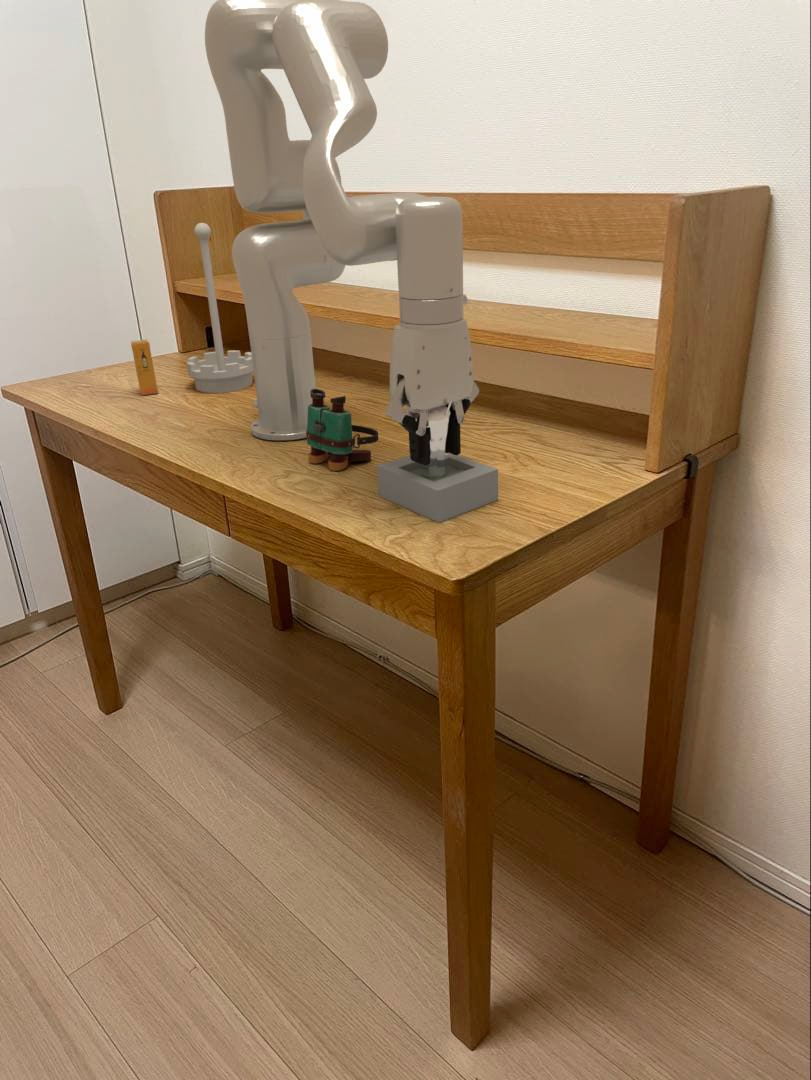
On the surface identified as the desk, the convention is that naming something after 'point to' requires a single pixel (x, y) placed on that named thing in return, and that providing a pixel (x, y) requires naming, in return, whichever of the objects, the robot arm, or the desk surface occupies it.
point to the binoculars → (335, 433)
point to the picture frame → (438, 487)
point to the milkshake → (437, 441)
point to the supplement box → (144, 367)
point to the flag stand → (217, 342)
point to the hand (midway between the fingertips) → (435, 456)
